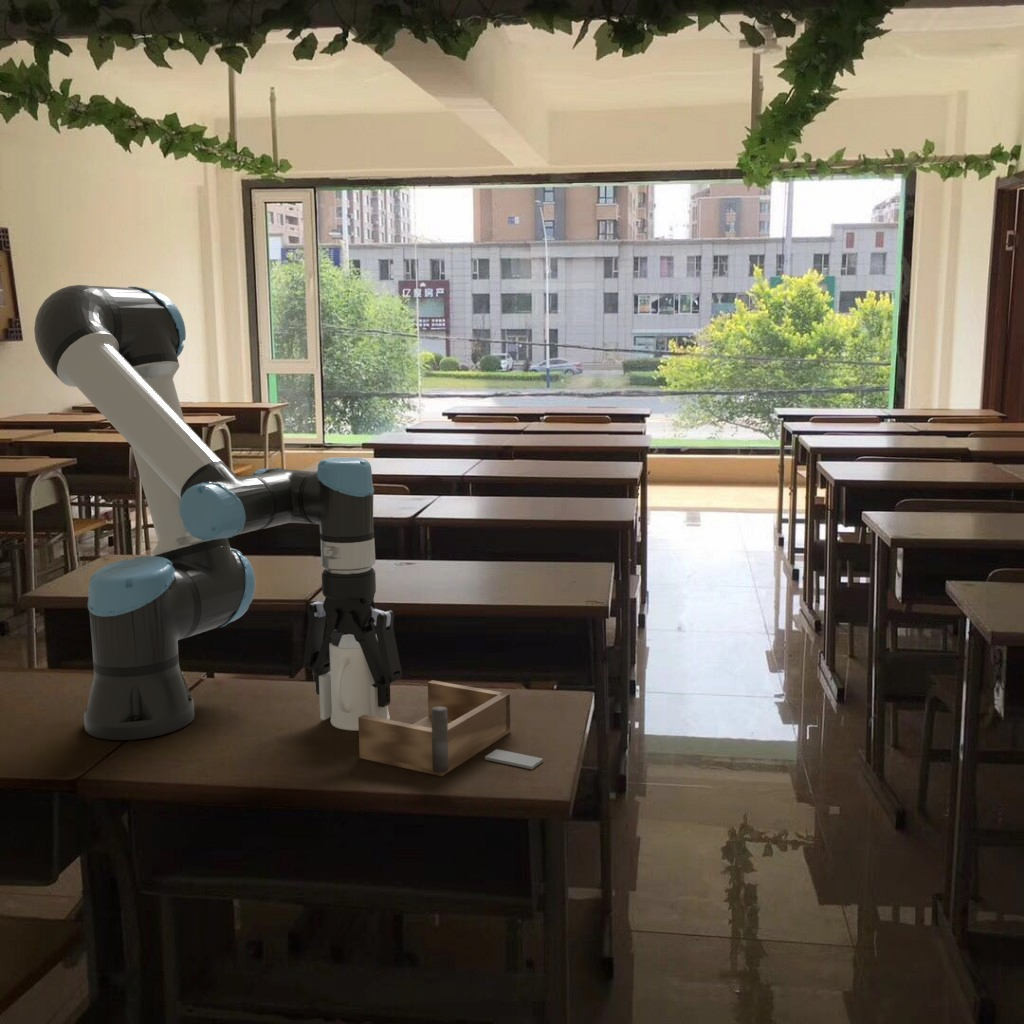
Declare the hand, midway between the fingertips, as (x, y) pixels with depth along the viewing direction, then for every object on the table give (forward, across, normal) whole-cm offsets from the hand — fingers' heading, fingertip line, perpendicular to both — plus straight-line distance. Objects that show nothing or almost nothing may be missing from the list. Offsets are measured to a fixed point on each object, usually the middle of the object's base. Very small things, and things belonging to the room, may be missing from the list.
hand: (353, 721), depth 155 cm
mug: (+1, 0, 0) cm, 1 cm away
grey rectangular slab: (0, +27, -1) cm, 27 cm away
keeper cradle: (0, +15, -1) cm, 15 cm away
